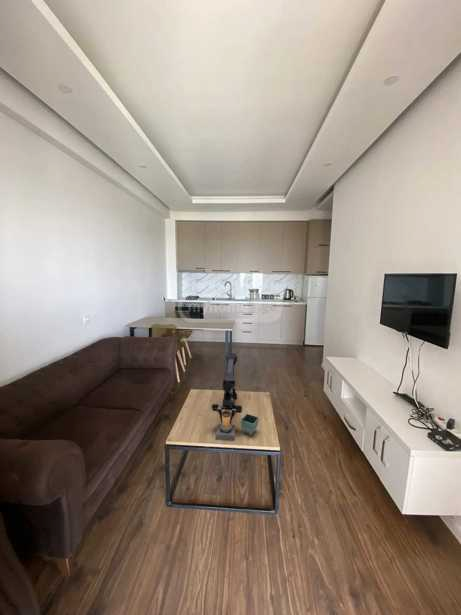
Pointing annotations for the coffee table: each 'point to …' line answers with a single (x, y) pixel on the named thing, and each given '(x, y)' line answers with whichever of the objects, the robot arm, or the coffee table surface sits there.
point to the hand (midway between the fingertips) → (225, 423)
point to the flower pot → (249, 423)
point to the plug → (226, 422)
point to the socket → (225, 436)
